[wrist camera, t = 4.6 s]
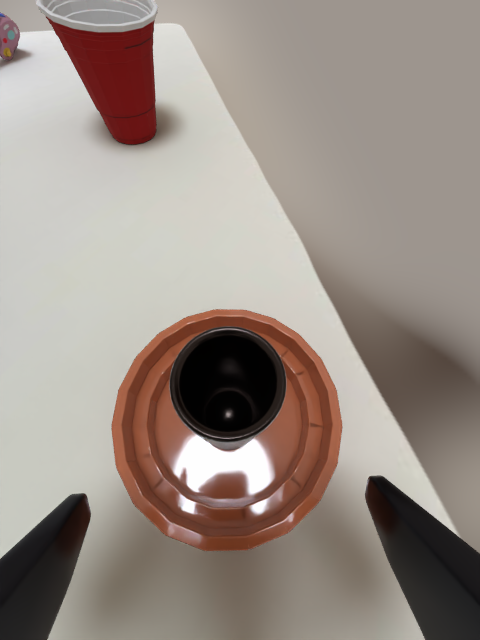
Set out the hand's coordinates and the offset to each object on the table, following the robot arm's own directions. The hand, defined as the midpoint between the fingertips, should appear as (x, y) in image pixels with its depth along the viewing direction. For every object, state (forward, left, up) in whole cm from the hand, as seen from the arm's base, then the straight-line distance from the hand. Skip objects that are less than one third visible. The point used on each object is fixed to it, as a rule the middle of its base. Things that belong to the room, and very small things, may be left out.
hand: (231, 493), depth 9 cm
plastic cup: (+42, 0, -11) cm, 43 cm away
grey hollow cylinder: (+4, -1, -10) cm, 11 cm away
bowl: (+4, -1, -11) cm, 11 cm away
